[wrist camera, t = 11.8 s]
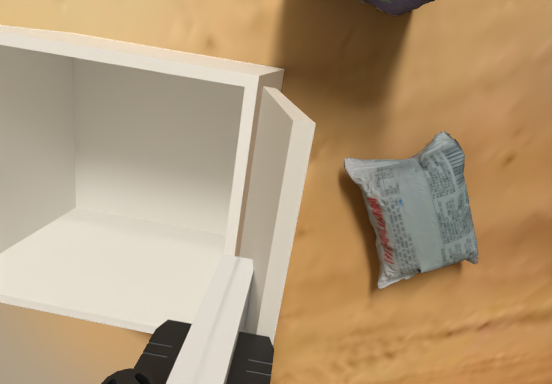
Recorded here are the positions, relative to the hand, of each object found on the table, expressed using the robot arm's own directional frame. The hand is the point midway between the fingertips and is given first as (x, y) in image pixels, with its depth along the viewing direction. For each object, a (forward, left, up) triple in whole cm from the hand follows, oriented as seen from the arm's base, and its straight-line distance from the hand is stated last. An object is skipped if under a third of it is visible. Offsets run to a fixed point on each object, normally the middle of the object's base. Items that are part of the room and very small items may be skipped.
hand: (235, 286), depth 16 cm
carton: (0, +10, -19) cm, 22 cm away
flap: (0, 0, -1) cm, 1 cm away
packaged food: (-2, -11, -20) cm, 23 cm away
